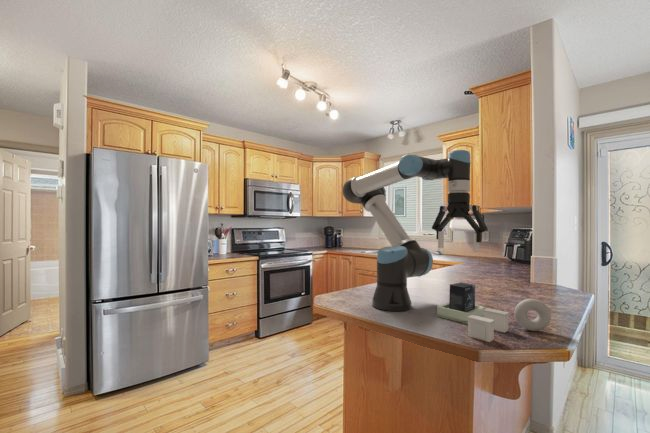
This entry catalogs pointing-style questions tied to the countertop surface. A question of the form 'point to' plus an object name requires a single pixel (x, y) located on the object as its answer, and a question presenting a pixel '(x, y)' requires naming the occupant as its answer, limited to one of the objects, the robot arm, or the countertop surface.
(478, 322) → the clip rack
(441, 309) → the tray
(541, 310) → the donut
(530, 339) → the countertop surface
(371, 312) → the countertop surface
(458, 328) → the countertop surface
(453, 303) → the box
